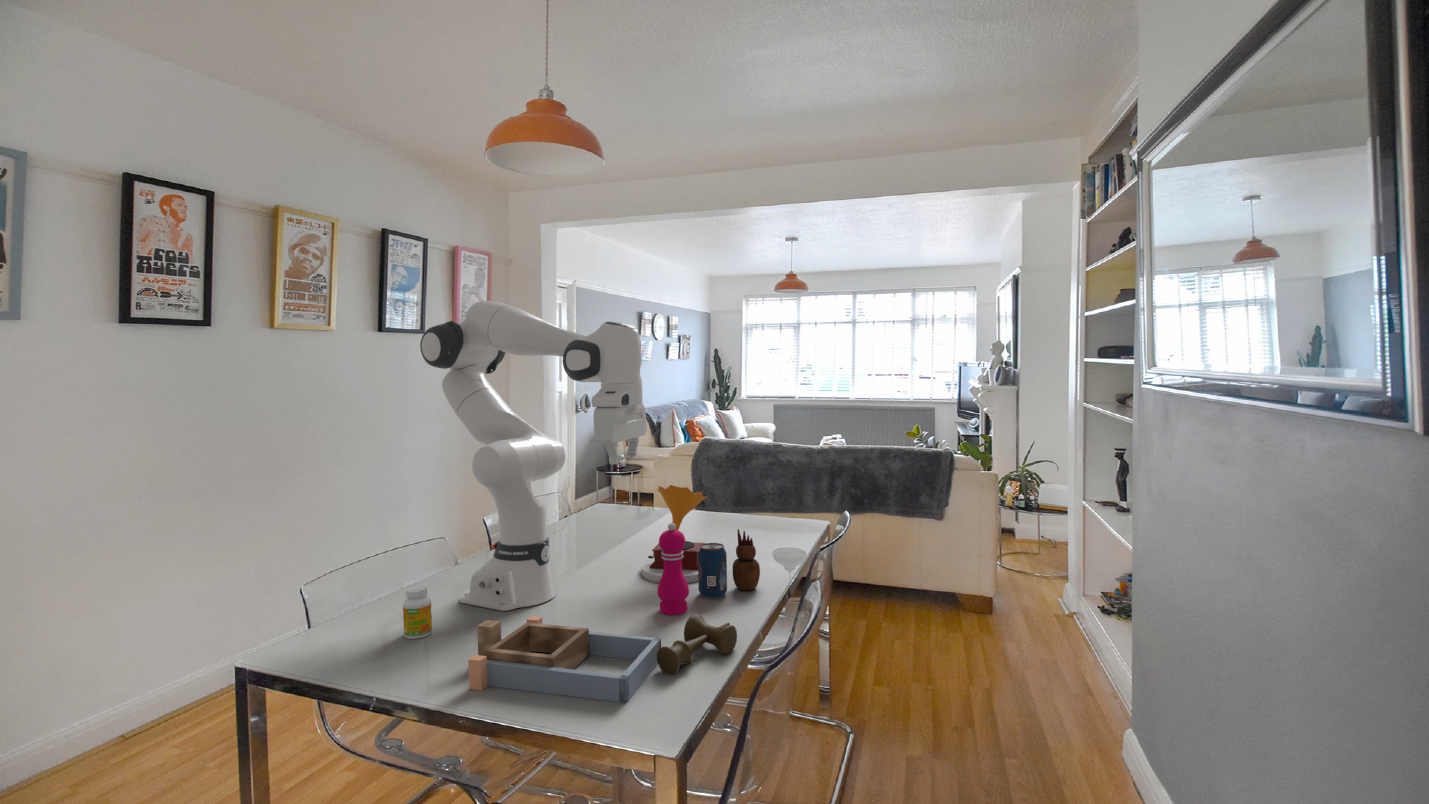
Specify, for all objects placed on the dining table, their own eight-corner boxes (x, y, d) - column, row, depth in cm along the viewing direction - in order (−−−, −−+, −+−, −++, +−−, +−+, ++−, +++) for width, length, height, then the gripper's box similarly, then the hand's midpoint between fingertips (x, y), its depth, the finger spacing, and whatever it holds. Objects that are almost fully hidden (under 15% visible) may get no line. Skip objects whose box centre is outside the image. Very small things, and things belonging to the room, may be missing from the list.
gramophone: (709, 585, 165) (707, 487, 163) (631, 582, 168) (629, 486, 167) (722, 562, 185) (720, 475, 184) (652, 559, 188) (650, 474, 187)
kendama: (645, 670, 119) (710, 631, 135) (686, 686, 113) (749, 643, 129) (644, 639, 118) (710, 603, 134) (686, 653, 113) (749, 614, 129)
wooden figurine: (729, 590, 160) (728, 530, 159) (737, 583, 165) (736, 525, 165) (755, 594, 157) (754, 532, 157) (762, 586, 163) (762, 527, 162)
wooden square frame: (460, 675, 116) (459, 637, 116) (503, 644, 129) (502, 610, 129) (554, 686, 111) (553, 646, 111) (589, 654, 124) (588, 618, 124)
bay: (469, 688, 112) (468, 659, 111) (532, 641, 131) (531, 616, 131) (621, 708, 104) (621, 677, 104) (664, 655, 124) (664, 628, 124)
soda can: (700, 589, 161) (699, 542, 161) (728, 590, 160) (727, 542, 160) (697, 599, 154) (696, 549, 154) (726, 599, 154) (725, 549, 153)
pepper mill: (685, 617, 143) (683, 527, 142) (653, 615, 145) (651, 526, 144) (692, 605, 150) (691, 520, 149) (662, 603, 152) (660, 519, 151)
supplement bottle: (404, 641, 132) (402, 594, 132) (403, 632, 137) (401, 587, 137) (433, 636, 135) (431, 590, 134) (431, 627, 140) (429, 583, 139)
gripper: (627, 395, 150) (628, 454, 151) (587, 398, 131) (589, 467, 131) (652, 395, 149) (654, 455, 149) (616, 398, 129) (618, 467, 130)
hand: (623, 460), depth 140 cm, fingers open, 8 cm apart
